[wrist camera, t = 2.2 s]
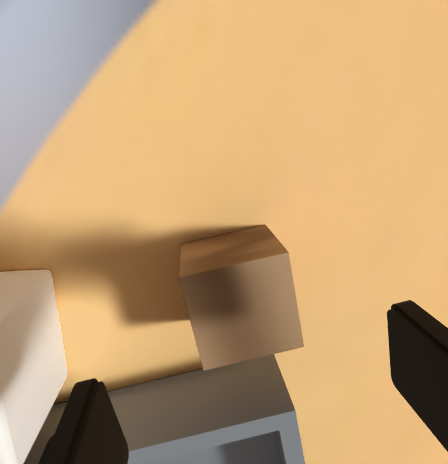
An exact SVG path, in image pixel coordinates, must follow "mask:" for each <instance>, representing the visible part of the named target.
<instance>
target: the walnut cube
mask: <svg viewBox="0 0 448 464" xmlns="http://www.w3.org/2000/svg"><path fill="white" fill-rule="evenodd" d="M179 280H180V284H181V288H182V291H183V295H184V299H185V303H186V306H187V310H188V314H189V318H190V321H191V325H192V329H193V333H194V336H195V340H196V344H197V348H198V351H199V355H200V359H201V363H202V366H203V370H204V371H205V370H209V369H213V368H217V367H222V366H226V365H230V364H234V363H238V362H242V361H246V360H251V359H255V358H259V357H263V356H267V355H271V354H276V353H280V352H284V351H288V350H292V349H296V348H300V347H304V344H303V338H302V332H301V326H300V320H299V314H298V308H297V302H296V296H295V289H294V283H293V277H292V271H291V265H290V259H289V253H288V251H287V250H286V249H285V248H284V246H283V245H282V244H281V243H280V242H279V240H278V239H277V238H276V237H275V236H274V234H273V233H272V232H271V231H270V230H269V228H268V227H267V226H266V225H261V226H257V227H253V228H248V229H244V230H240V231H235V232H231V233H226V234H222V235H218V236H213V237H209V238H204V239H200V240H196V241H191V242H187V243H182V244H181V254H180V268H179Z"/></svg>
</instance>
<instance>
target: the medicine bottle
mask: <svg viewBox="0 0 448 464" xmlns="http://www.w3.org/2000/svg"><path fill="white" fill-rule="evenodd" d="M67 375H68V368H67V362H66V356H65V350H64V344H63V338H62V332H61V326H60V320H59V314H58V308H57V302H56V296H55V290H54V284H53V278H52V274H51V272H50V271H49V270H45V269H43V270H24V271H6V272H0V464H23V463H24V461H25V459H26V457H27V455H28V453H29V451H30V449H31V447H32V445H33V443H34V441H35V439H36V437H37V435H38V433H39V431H40V429H41V427H42V425H43V423H44V421H45V419H46V417H47V415H48V413H49V411H50V409H51V407H52V405H53V403H54V401H55V399H56V397H57V395H58V393H59V391H60V389H61V387H62V385H63V383H64V381H65V379H66V377H67Z"/></svg>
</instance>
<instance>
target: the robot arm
mask: <svg viewBox="0 0 448 464" xmlns="http://www.w3.org/2000/svg"><path fill="white" fill-rule="evenodd" d="M387 320H388V336H389V351H390V367H391V378H392V381H393V384H394V385H395V387H396V389H397V390H398V391H399V392H400V394H401V395H402V396H403V397H404V398H405V400H406V401H407V402H408V403H409V405H410V406H411V407H412V408H413V410H414V411H415V412H416V413H417V414H418V416H419V417H420V418H421V419H422V421H423V422H424V423H425V424H426V426H427V427H428V428H429V429H430V431H431V432H432V433H433V434H434V435H435V437H436V438H437V439H438V440H439V442H440V443H441V444H442V445H443V447H444V448H445V449H446V450H447V452H448V328H447V327H446V326H444V325H443V324H442V323H440V322H439V321H438V320H436V319H435V318H434V317H433V316H431V315H430V314H429V313H427V312H426V311H425V310H423V309H422V308H421V307H420V306H418V305H417V304H416V303H414V302H413V301H411V300H408V301H404V302H400V303H396V304H393V305H392V306H391V310H388V312H387ZM128 458H129V449H128V444H127V442H126V439H125V436H124V434H123V431H122V429H121V426H120V423H119V421H118V418H117V416H116V413H115V411H114V408H113V405H112V403H111V400H110V398H109V395H108V392H107V390H106V387H105V385H104V383H103V382H98V381H97V380H96V379H95V378H94V379H90V380H86V381H82V382H78V383H76V384H75V385H74V387H73V390H72V392H71V395H70V397H69V400H68V402H67V404H66V407H65V409H64V412H63V414H62V417H61V419H60V421H59V424H58V426H57V429H56V431H55V434H54V435H53V436H52V437H51V438H50V439H49V440H48V442H47V444H46V447H45V449H44V451H43V454H42V456H41V458H40V461H39V463H38V464H128Z"/></svg>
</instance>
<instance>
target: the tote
mask: <svg viewBox="0 0 448 464" xmlns="http://www.w3.org/2000/svg"><path fill="white" fill-rule="evenodd" d="M108 395H109V398H110V400H111V403H112V405H113V408H114V411H115V413H116V416H117V418H118V421H119V423H120V426H121V429H122V431H123V434H124V436H125V439H126V442H127V444H128V449H129V458H128V464H305V461H304V456H303V450H302V445H301V439H300V434H299V428H298V423H297V418H296V412H295V409H294V406H293V403H292V401H291V398H290V395H289V393H288V390H287V388H286V385H285V382H284V380H283V377H282V375H281V372H280V369H279V367H278V364H277V361H276V359H275V356H274V354H271V355H267V356H263V357H259V358H255V359H251V360H246V361H242V362H238V363H234V364H230V365H226V366H222V367H217V368H213V369H209V370H205V371H204V370H203V369H199V370H195V371H191V372H187V373H183V374H178V375H174V376H170V377H166V378H162V379H158V380H153V381H149V382H145V383H141V384H137V385H133V386H129V387H124V388H120V389H116V390H112V391H108ZM67 402H68V401H66V402H62V403H58V404H54V405H52V407H51V409H50V411H49V413H48V415H47V417H46V419H45V421H44V423H43V425H42V427H41V429H40V431H39V433H38V435H37V437H36V439H35V441H34V443H33V445H32V447H31V449H30V451H29V453H28V455H27V457H26V459H25V461H24V463H23V464H38V463H39V461H40V458H41V456H42V454H43V451H44V449H45V447H46V444H47V442H48V440H49V439H50V438H51V437H52V436H53V435H54V434H55V431H56V429H57V426H58V424H59V421H60V419H61V417H62V414H63V412H64V409H65V407H66V404H67Z"/></svg>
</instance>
